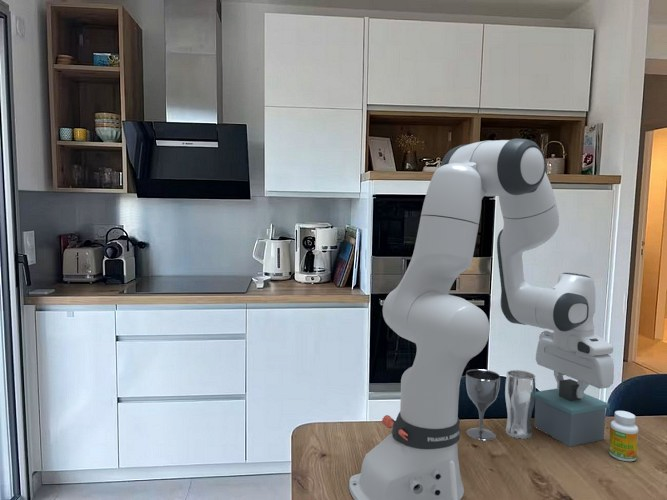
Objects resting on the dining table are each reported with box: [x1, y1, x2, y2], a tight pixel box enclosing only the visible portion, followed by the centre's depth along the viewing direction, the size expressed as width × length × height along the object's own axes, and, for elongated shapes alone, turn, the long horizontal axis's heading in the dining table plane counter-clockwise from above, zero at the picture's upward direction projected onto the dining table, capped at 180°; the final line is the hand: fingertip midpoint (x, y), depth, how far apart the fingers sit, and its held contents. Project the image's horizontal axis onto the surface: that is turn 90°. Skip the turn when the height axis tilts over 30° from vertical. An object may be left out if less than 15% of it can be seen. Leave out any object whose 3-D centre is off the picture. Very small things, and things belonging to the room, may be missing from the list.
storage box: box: [533, 397, 607, 448], centre depth 117 cm, size 11×11×8 cm
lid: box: [535, 378, 610, 415], centre depth 117 cm, size 12×12×5 cm
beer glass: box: [504, 369, 537, 440], centre depth 116 cm, size 7×7×15 cm
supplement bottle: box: [608, 410, 639, 462], centre depth 106 cm, size 5×5×10 cm
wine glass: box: [465, 368, 501, 442], centre depth 116 cm, size 8×8×15 cm
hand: (570, 393), depth 117 cm, fingers closed on lid, 3 cm apart
